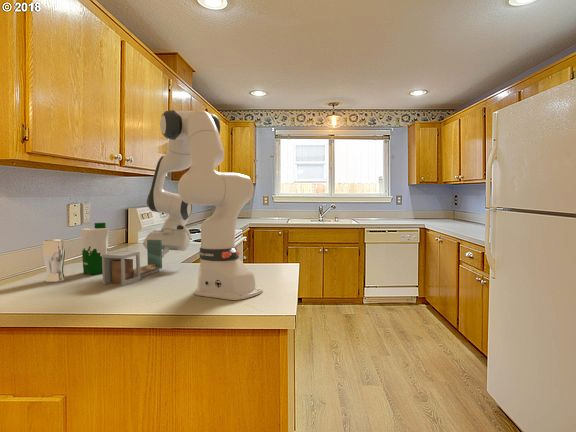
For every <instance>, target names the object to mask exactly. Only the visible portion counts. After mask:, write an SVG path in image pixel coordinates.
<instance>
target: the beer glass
mask: <svg viewBox="0 0 576 432" xmlns="http://www.w3.org/2000/svg"><path fill="white" fill-rule="evenodd" d="M42 241H43V244H42V254H43V255H42V256H43V261H44V265H45V269H46V276H45V282H46V283H59V282H64V281H65V280H66V278H65V274H64V273H65V272H64V267H65V261H66V243H65V239H64V238H63V239H62V238H51V239H45V240H44V239H43V240H42Z"/></svg>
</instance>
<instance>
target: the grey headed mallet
mask: <svg viewBox="0 0 576 432" xmlns="http://www.w3.org/2000/svg"><path fill="white" fill-rule="evenodd" d="M140 253H141V252H140V251H131V250H129V251H128V250H127V251H126V250H118V251H112V252H108V254H103V255H102V272H103V273H102V285H106V284H110V283H112V261H113V260H117V259H121V284H120V285H121V286H122V287H123V286H127V285H130V284H133V283H136V282H139V281H141V278H142V277H143V278H144V277H145V276H148V275H151V274H154V273H158V272H160V269H152V270H149V271H146V272H143V273H140V267H141V259H140V258H141V257H140V256H141V255H140ZM131 257H135V259H136V260H135V263H136V265H135V266H136V267H135V269H136V275H133V278H130V279H127V280H125V259H128V258H131Z"/></svg>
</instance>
